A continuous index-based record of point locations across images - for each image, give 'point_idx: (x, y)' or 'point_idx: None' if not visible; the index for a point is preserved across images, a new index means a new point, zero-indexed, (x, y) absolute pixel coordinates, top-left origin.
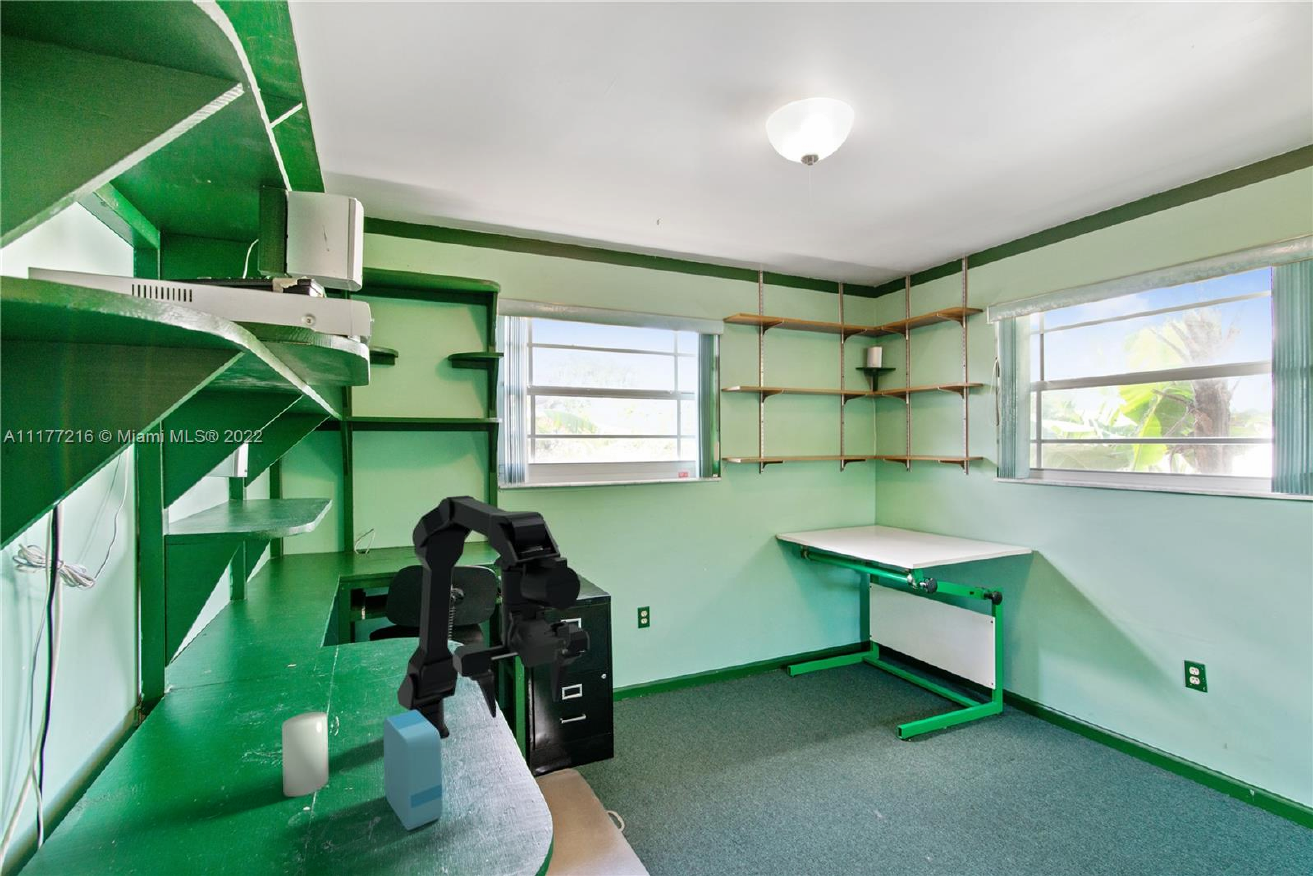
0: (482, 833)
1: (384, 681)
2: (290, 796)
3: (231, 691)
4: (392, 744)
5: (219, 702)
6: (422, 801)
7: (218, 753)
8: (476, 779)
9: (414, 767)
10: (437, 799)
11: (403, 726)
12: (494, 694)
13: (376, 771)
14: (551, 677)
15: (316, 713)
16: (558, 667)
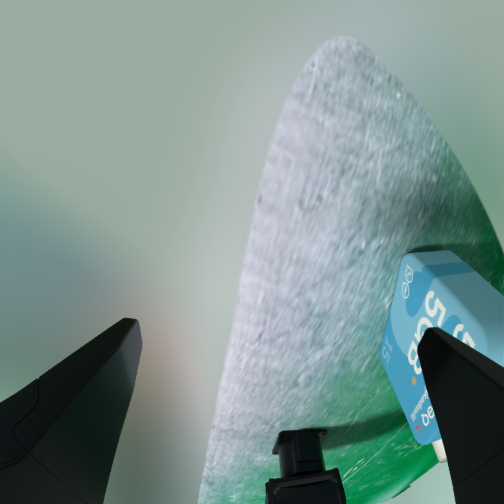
0: (377, 167)
1: None
2: None
3: (369, 499)
4: None
5: (382, 492)
6: (453, 264)
7: (427, 449)
8: (307, 329)
9: (498, 297)
10: (429, 264)
11: None
12: (499, 383)
13: (384, 400)
14: (115, 440)
15: (444, 460)
16: (40, 465)
